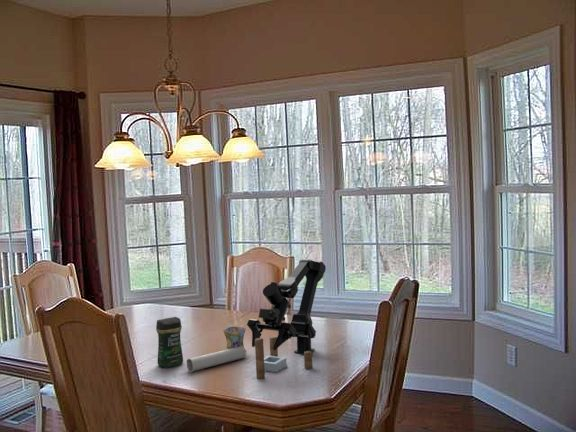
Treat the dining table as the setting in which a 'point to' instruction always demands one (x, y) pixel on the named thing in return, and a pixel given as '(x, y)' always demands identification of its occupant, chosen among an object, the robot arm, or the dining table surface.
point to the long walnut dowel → (259, 358)
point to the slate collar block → (274, 363)
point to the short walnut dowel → (308, 360)
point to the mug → (234, 336)
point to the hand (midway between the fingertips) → (263, 348)
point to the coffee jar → (169, 342)
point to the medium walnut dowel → (272, 342)
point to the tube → (215, 358)
